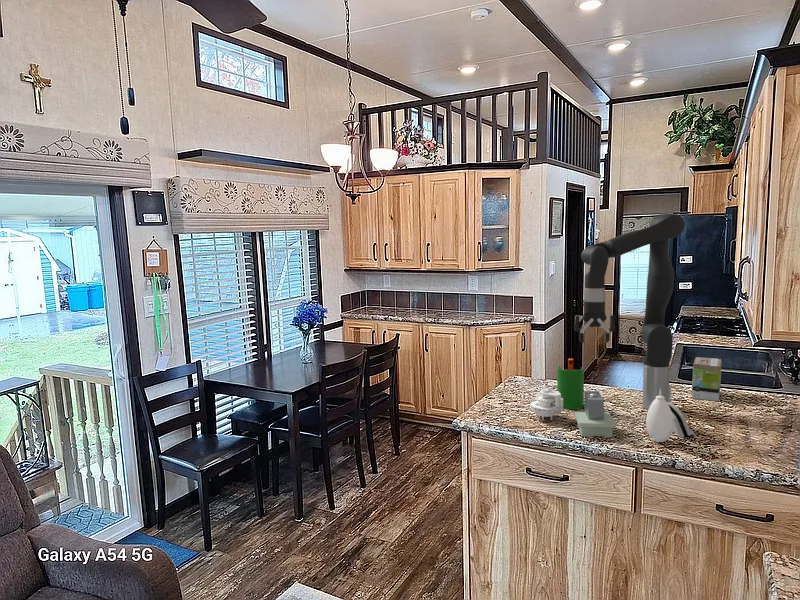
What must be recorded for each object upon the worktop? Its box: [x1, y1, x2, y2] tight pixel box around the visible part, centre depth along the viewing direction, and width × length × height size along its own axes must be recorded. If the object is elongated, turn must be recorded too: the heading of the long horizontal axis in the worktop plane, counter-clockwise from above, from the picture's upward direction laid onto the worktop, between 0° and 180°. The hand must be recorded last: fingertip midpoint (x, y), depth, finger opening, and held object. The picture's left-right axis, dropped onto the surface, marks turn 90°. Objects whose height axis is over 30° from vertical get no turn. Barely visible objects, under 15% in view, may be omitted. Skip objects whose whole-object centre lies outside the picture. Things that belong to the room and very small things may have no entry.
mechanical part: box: [529, 385, 564, 421], centre depth 202 cm, size 11×12×12 cm
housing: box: [583, 390, 605, 420], centre depth 189 cm, size 5×9×8 cm, turn 170°
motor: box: [556, 358, 585, 410], centre depth 214 cm, size 10×9×20 cm
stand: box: [573, 411, 617, 438], centre depth 187 cm, size 12×12×5 cm
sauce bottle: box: [645, 389, 673, 443], centre depth 175 cm, size 8×8×18 cm
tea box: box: [691, 356, 722, 402], centre depth 223 cm, size 15×10×15 cm, turn 148°
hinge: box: [667, 402, 697, 439], centre depth 187 cm, size 17×5×10 cm, turn 174°
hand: (594, 342), depth 201 cm, fingers open, 8 cm apart
